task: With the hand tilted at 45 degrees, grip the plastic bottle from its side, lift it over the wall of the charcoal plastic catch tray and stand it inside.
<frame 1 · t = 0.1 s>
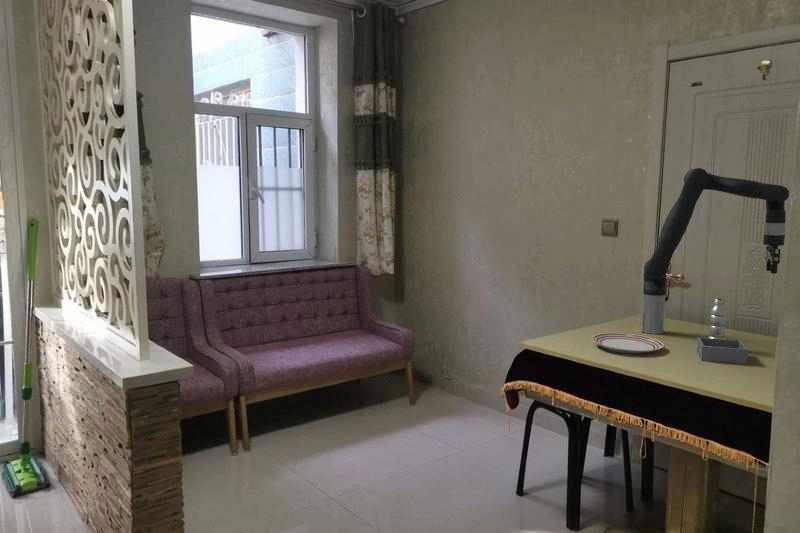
hand: (771, 272, 253), 29 cm above the table, tool pointing down, fingers open, 8 cm apart
plastic bottle: (716, 348, 243), on the table
dinner plate: (626, 348, 244), on the table
catch tray: (720, 357, 229), on the table
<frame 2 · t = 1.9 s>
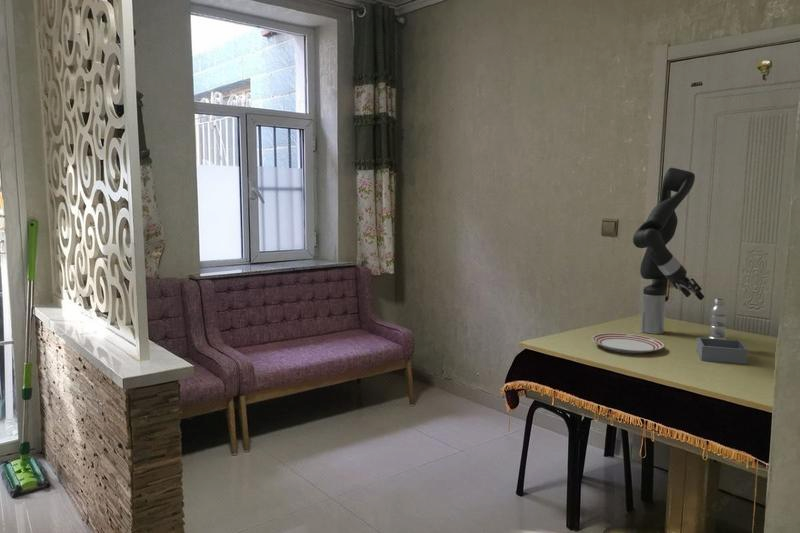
hand: (695, 297, 242), 21 cm above the table, tool tilted 45°, fingers open, 8 cm apart
nothing on the table moved.
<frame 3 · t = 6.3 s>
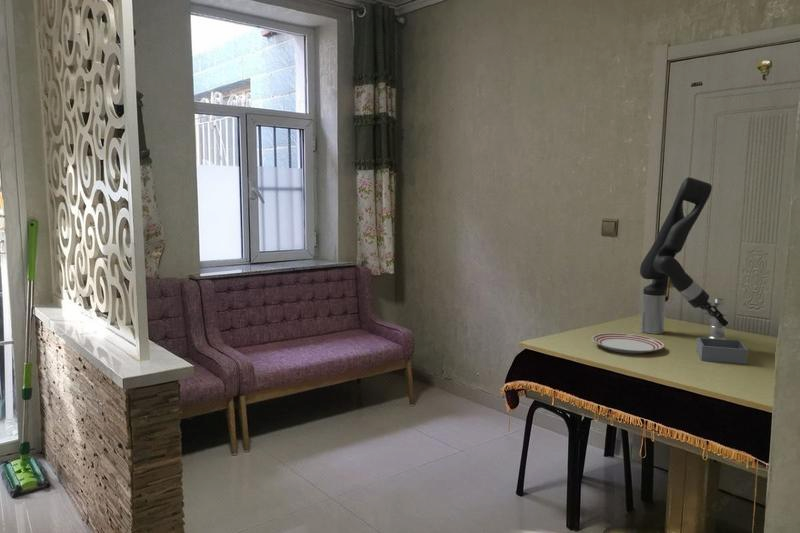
hand: (722, 322, 242), 10 cm above the table, tool tilted 45°, fingers closed on plastic bottle, 6 cm apart
plastic bottle: (716, 348, 243), on the table, touching gripper
everything else where it was.
when the fingers open (13 cm above the table, at t = 13.1 s): plastic bottle drops 1 cm, resting on catch tray.
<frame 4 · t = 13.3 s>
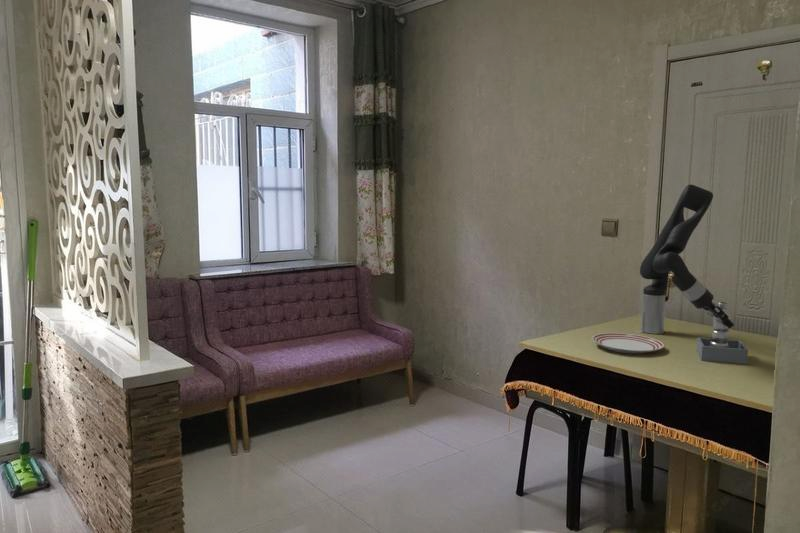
hand: (726, 324, 227), 13 cm above the table, tool tilted 45°, fingers open, 7 cm apart
plastic bottle: (718, 354, 230), point 1 cm above the table, touching catch tray, gripper
everything else where it was.
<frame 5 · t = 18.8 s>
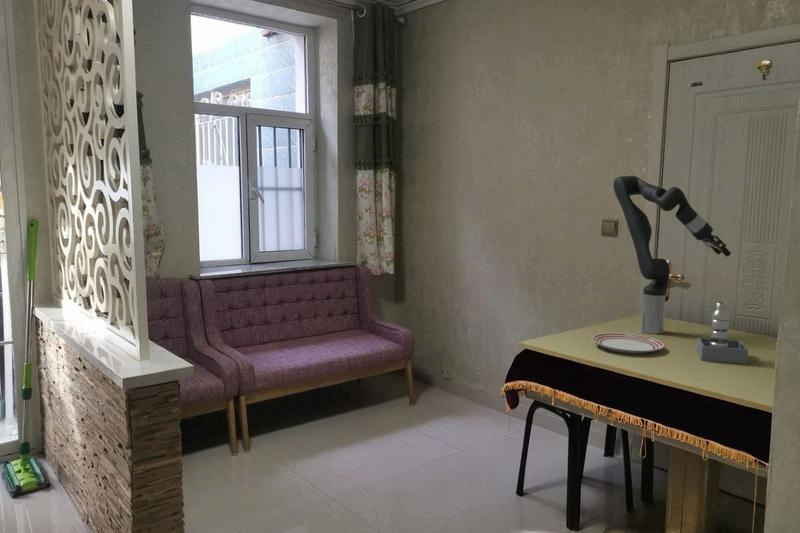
hand: (724, 254, 254), 37 cm above the table, tool tilted 45°, fingers open, 8 cm apart
plastic bottle: (718, 354, 230), point 1 cm above the table, touching catch tray
everything else where it was.
at the end: plastic bottle inside the target area on the catch tray (1.1 cm from its centre), point 0.8 cm above the catch tray's base; plastic bottle tilted 0°; the gripper is holding nothing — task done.
